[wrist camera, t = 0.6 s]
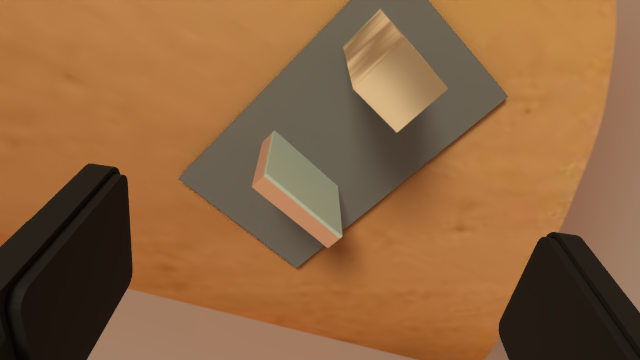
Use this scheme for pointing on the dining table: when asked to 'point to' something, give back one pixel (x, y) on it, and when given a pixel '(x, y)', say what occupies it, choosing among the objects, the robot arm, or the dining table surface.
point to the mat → (342, 125)
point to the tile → (298, 189)
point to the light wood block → (390, 72)
